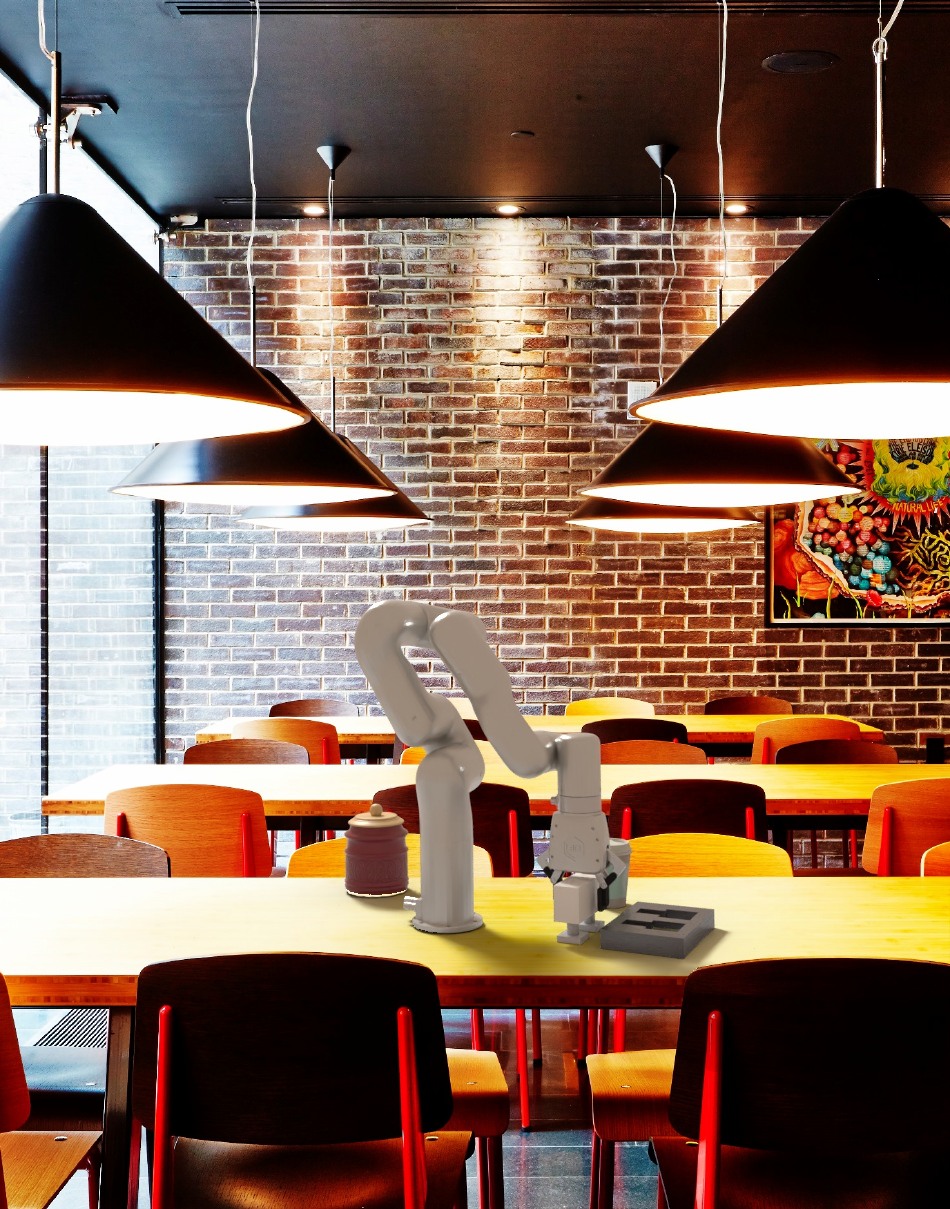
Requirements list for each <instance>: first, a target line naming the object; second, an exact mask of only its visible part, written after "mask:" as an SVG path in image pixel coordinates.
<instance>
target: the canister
mask: <svg viewBox="0 0 950 1209" xmlns="http://www.w3.org/2000/svg"><path fill="white" fill-rule="evenodd" d="M404 822H405V820H404V819H403V818H401V817H400V816H398V814H397V813H395V812H389V811H388V812H387V811H383V807H382V805H381V804H379V803H373V804H371V806H370V807H369V811H368V812H362V813H358V814H356V815H355V816H354V817H353V818H351V819H350V820H348V822H347V823H348V825H349V828H348V830H345V832H344V835H343V836H344V837H345V839H346V847H345V848H344V854H345V856H344V858H345V859H344V862H345V878H344V887H345V890H346V889H347V890H349V891H350V892H354V893H358V894H369V895H370V894H371V895H382V894H392V893H397V892H401V891H404V890H406V889H407V888H408V886H409V884H410V882H409V880H410V878H409V868H408V867H409V865H408V864H409V863H408V862H409V859H408V857H409V855H408V851H409V847H408V846H407V842H406V841H407V838H406V837H407V836H408V835H409V831H408V830H407V828H404V826H403V824H404ZM407 890H408V889H407Z"/></svg>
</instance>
